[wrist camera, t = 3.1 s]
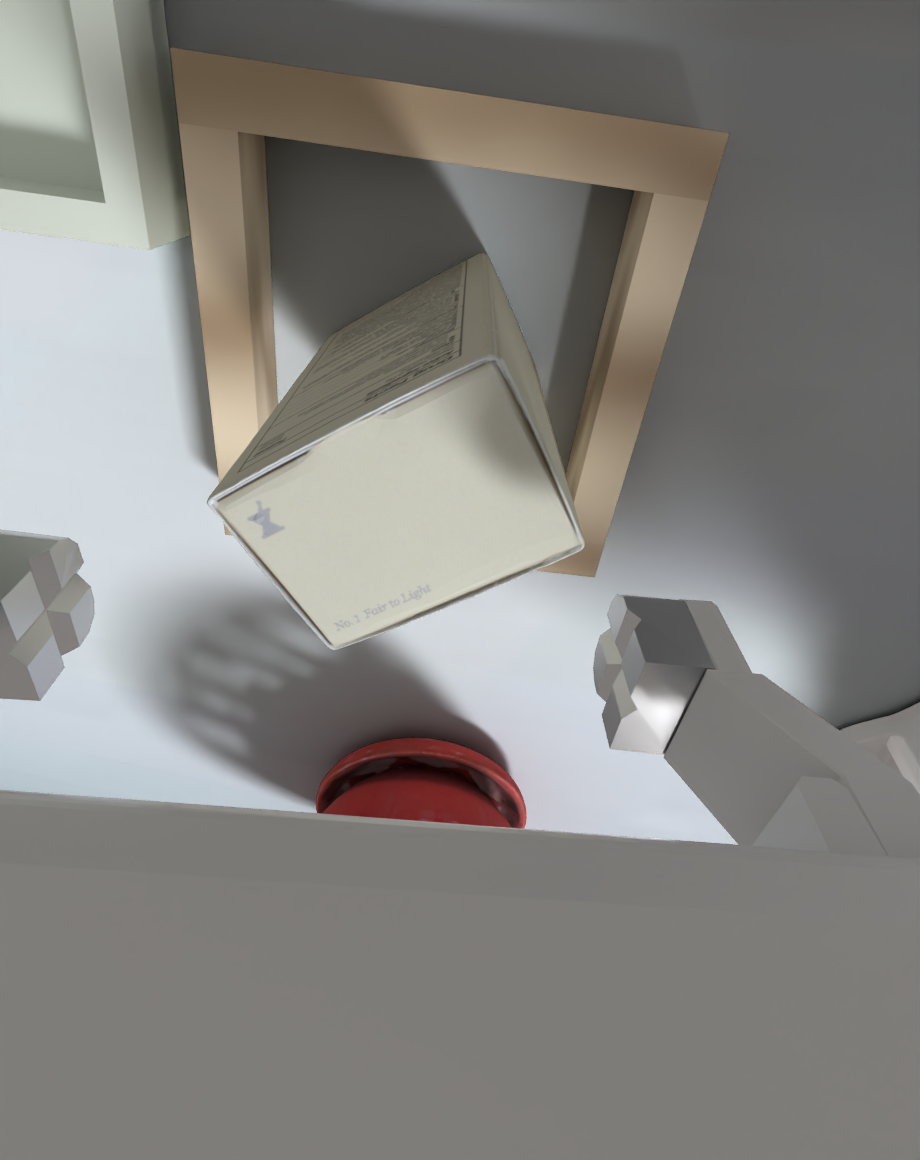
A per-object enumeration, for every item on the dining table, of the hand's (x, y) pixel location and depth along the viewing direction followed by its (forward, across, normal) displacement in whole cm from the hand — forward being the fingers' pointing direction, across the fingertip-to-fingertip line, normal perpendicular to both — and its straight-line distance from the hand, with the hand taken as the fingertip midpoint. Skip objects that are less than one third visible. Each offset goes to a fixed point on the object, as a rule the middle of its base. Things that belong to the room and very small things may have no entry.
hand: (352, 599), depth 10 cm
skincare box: (+15, -1, 0) cm, 15 cm away
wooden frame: (+14, -1, 0) cm, 15 cm away
